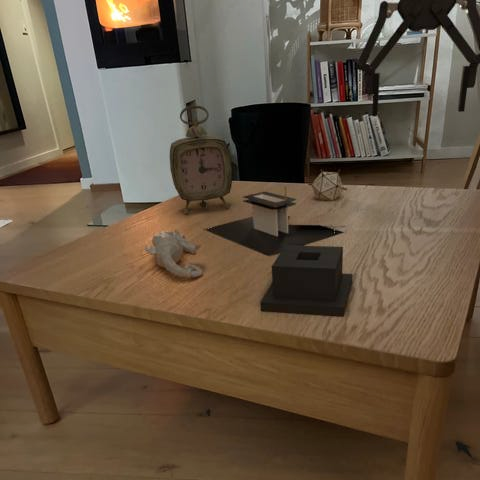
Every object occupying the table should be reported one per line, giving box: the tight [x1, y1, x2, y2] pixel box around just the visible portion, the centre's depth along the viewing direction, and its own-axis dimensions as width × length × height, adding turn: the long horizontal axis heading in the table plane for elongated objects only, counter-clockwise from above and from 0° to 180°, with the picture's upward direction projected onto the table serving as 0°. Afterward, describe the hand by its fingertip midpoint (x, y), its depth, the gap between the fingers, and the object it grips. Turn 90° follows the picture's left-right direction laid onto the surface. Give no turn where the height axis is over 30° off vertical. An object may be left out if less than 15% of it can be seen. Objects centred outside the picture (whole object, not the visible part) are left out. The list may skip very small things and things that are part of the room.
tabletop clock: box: [169, 104, 233, 216], centre depth 119 cm, size 14×9×25 cm, turn 104°
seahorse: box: [144, 228, 204, 279], centre depth 89 cm, size 5×12×20 cm
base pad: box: [259, 272, 353, 317], centre depth 72 cm, size 12×12×6 cm
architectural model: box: [205, 186, 345, 257], centre depth 101 cm, size 20×25×10 cm
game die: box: [307, 169, 348, 201], centre depth 119 cm, size 9×8×10 cm
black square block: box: [271, 245, 344, 301], centre depth 71 cm, size 9×9×5 cm
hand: (416, 113), depth 80 cm, fingers open, 13 cm apart
